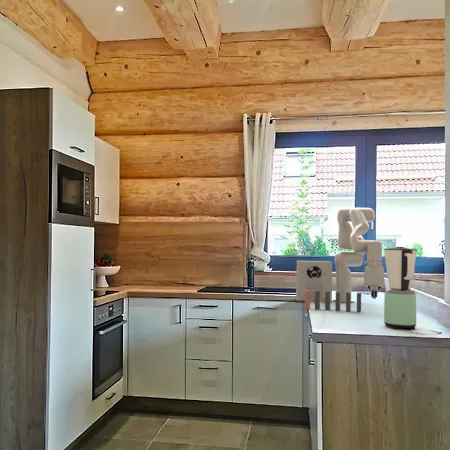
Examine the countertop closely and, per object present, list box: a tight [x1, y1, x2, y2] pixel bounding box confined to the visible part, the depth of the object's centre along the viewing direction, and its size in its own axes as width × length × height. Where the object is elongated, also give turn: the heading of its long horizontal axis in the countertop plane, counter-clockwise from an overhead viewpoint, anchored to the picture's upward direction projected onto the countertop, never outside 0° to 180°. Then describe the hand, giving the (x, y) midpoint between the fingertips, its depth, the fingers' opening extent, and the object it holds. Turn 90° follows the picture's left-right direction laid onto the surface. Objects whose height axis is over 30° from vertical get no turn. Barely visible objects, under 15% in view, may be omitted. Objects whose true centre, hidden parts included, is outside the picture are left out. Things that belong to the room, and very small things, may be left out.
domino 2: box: [314, 290, 321, 311], centre depth 251 cm, size 5×2×10 cm, turn 160°
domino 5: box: [345, 291, 352, 313], centre depth 245 cm, size 5×2×10 cm, turn 160°
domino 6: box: [356, 291, 362, 313], centre depth 243 cm, size 5×2×10 cm, turn 160°
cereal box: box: [295, 260, 333, 303], centre depth 290 cm, size 22×8×25 cm, turn 84°
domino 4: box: [334, 291, 341, 312], centre depth 247 cm, size 5×2×10 cm, turn 160°
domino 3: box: [324, 291, 331, 311], centre depth 249 cm, size 5×2×10 cm, turn 160°
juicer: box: [383, 246, 418, 331], centre depth 197 cm, size 19×13×35 cm
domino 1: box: [304, 290, 311, 310], centre depth 253 cm, size 5×2×10 cm, turn 161°
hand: (374, 298), depth 241 cm, fingers closed
